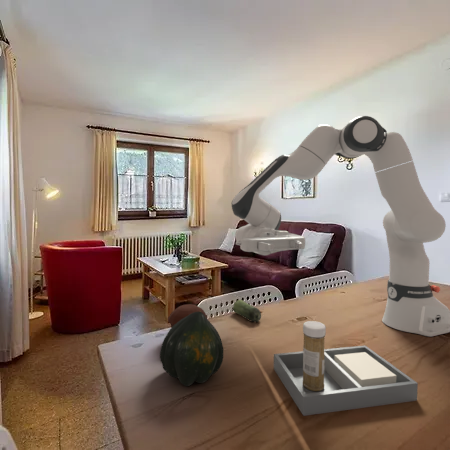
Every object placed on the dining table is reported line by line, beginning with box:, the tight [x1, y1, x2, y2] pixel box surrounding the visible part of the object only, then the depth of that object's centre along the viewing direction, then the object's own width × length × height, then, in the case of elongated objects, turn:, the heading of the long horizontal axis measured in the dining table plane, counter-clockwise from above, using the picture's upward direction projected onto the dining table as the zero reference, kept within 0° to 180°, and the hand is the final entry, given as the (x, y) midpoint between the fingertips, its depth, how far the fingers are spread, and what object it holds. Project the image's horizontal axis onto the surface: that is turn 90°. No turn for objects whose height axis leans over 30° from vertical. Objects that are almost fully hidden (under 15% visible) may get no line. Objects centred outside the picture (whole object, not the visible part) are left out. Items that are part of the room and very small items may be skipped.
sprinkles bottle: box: [302, 320, 327, 391], centre depth 63 cm, size 5×5×13 cm
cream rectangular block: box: [334, 352, 396, 387], centre depth 65 cm, size 8×10×4 cm
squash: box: [159, 311, 224, 387], centre depth 69 cm, size 14×15×15 cm
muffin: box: [167, 304, 208, 329], centre depth 87 cm, size 12×11×10 cm
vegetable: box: [232, 299, 262, 323], centre depth 104 cm, size 14×5×5 cm, turn 30°
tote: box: [273, 345, 419, 417], centre depth 64 cm, size 24×16×4 cm, turn 100°
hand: (286, 246), depth 82 cm, fingers open, 8 cm apart
